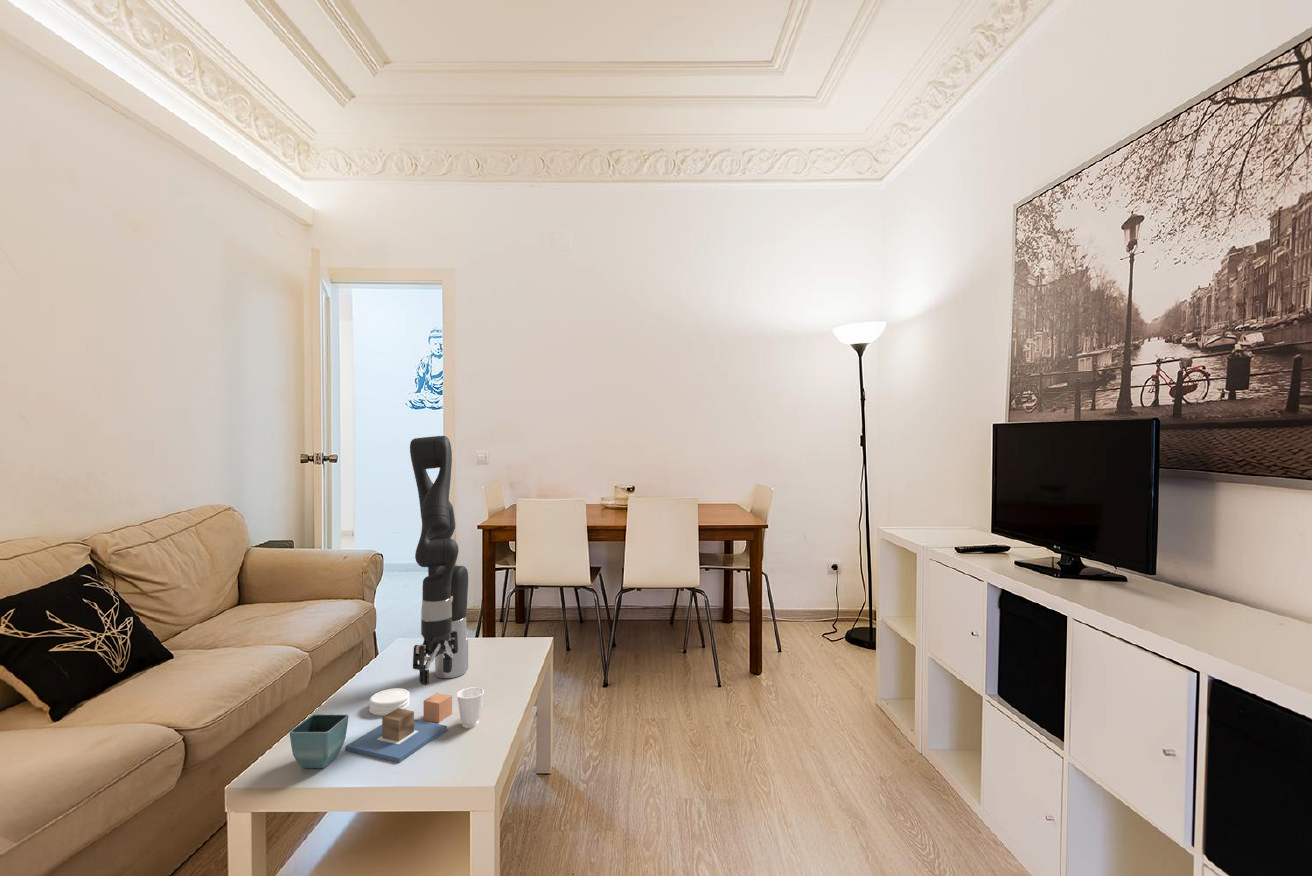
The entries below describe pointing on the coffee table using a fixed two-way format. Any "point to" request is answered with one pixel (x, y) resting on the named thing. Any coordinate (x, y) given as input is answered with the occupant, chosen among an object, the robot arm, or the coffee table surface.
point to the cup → (470, 706)
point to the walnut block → (397, 724)
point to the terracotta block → (437, 707)
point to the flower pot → (318, 739)
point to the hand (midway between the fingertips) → (436, 678)
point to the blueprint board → (396, 742)
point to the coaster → (389, 701)
